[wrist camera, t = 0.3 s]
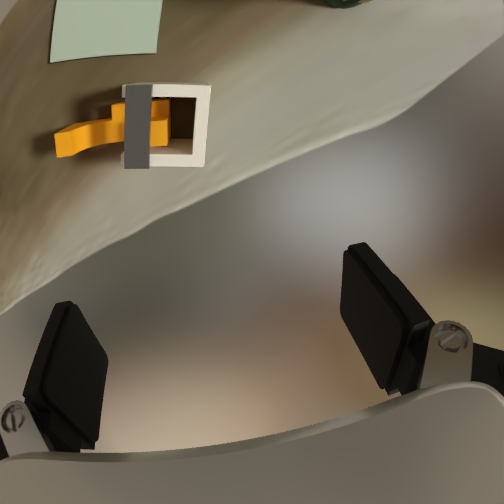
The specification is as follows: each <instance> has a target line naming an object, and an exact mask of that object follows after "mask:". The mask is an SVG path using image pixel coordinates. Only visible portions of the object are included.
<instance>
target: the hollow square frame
mask: <svg viewBox="0 0 504 504" xmlns="http://www.w3.org/2000/svg"><path fill="white" fill-rule="evenodd" d="M210 93H211V85H209V84H208V83H183V82H141V83H132V84H126V85H122V98H125V117H124V151H123V153H122V154H121V166H124V169H149V167H150V166H183V167H204V162H205V148H206V136H207V124H208V113H209V103H210ZM152 97H196V102H195V114H194V127H193V139H169V142H168V144H167V146H153V147H150V134H151V110H152Z"/></svg>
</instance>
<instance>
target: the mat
mask: <svg viewBox="0 0 504 504" xmlns="http://www.w3.org/2000/svg"><path fill="white" fill-rule="evenodd" d="M162 2H163V0H57V4H56V10H55V17H54V25H53V34H52V43H51V55H50V63H53V62H59V61H66V60H73V59H80V58H89V57H99V56H110V55H125V54H151V53H156V49H157V40H158V31H159V23H160V16H161V9H162Z"/></svg>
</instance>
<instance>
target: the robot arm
mask: <svg viewBox="0 0 504 504" xmlns="http://www.w3.org/2000/svg"><path fill="white" fill-rule="evenodd" d="M341 289H342V290H341V302H340V313H341V317H342V319H343V320H344V322H345V324H346V326H347V328H348V330H349V332H350V333H351V335H352V337H353V339H354V341H355V343H356V344H357V346H358V348H359V350H360V352H361V354H362V356H363V357H364V359H365V361H366V363H367V365H368V367H369V368H370V371H371V372H372V374H373V376H374V378H375V380H376V382H377V384H378V386H379V387H380V388H381V389H384V388H385V390H386V392H387V394H388V395H391V394H394V393H396V392H399V391H400V393H401V395H402V396H399V397H396V398H393V399H391V400H388V401H386V402H382V403H380V404H377V405H374V406H371V407H368V408H365V409H362V410H359V411H356V412H353V413H350V414H346V415H343V416H340V417H337V418H334V419H331V420H327V421H324V422H321V423H317V424H313V425H310V426H306V427H302V428H298V429H294V430H290V431H286V432H281V433H277V434H272V435H268V436H263V437H258V438H253V439H248V440H243V441H237V442H231V443H226V444H219V445H211V446H204V447H196V448H187V449H179V450H178V449H177V450H166V451H152V452H133V453H80V449H92V450H94V449H95V442H96V441H97V440H98V438H99V429H100V418H101V410H102V402H103V394H104V387H105V380H106V374H107V368H108V357H107V355H106V353H105V351H104V349H103V348H102V346H101V345H100V343H99V341H98V340H97V338H96V337H95V335H94V333H93V332H92V330H91V328H90V326H89V325H88V323H87V321H86V320H85V318H84V316H83V314H82V313H81V311H80V309H79V307H78V306H77V305H76V304H73V303H72V302H71V301H66V302H60V303H57V304H55V306H54V308H53V311H52V313H51V315H50V318H49V320H48V322H47V325H46V327H45V330H44V333H43V335H42V338H41V341H40V343H39V346H38V349H37V351H36V354H35V357H34V360H33V363H32V366H31V369H30V372H29V375H28V379H27V381H26V385H25V388H24V391H23V396H24V397H25V401H24V402H22V401H18V400H16V401H12V402H10V403H8V404H7V405H6V406H5V407H4V408H3V409H2V411H1V412H0V504H504V351H502V350H498V349H494V348H491V347H487V346H484V345H480V344H476V343H473V338H472V335H471V333H470V331H469V330H468V329H467V328H466V327H465V326H464V325H462V324H460V323H458V322H455V321H450V320H446V321H441V322H439V323H437V324H435V323H434V321H433V320H432V319H431V317H430V316H429V315H428V314H427V312H426V311H425V310H424V309H423V307H422V306H421V305H420V304H419V302H418V301H417V300H416V299H415V297H414V296H413V295H412V294H411V293H410V291H409V290H408V289H407V288H406V287H405V285H404V284H403V283H402V282H401V281H400V279H399V278H398V277H397V276H395V275H394V274H393V273H392V272H391V271H390V270H389V268H388V267H387V266H386V265H385V264H384V263H383V262H382V260H381V259H380V258H379V257H378V256H377V255H376V253H375V252H374V251H373V250H372V249H371V248H370V247H369V246H368V244H366V243H365V242H362V243H358V244H353V245H349V247H348V250H345V251H344V254H343V273H342V288H341Z"/></svg>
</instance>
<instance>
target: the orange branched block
mask: <svg viewBox="0 0 504 504" xmlns="http://www.w3.org/2000/svg"><path fill="white" fill-rule="evenodd" d="M111 106H112V118H108V119H100V120H93V121H87V122H80V123H74V124H72V125H70V126H68V127H66V128H65V129H63V130H61V131H59V132H57V133H55V134H54V136H55V144H56V152H57V158H58V157H65V156H71V155H74V154H76V153H77V152H79V151H82V150H84V149H87V148H90V147H93V146H97V145H102V144H107V143H113V142H122V141H124V117H125V102H121V103H115V104H113V105H111ZM170 136H171V98H164V99H152V110H151V134H150V147H153V146H167V144H168V142H169V139H170Z"/></svg>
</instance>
